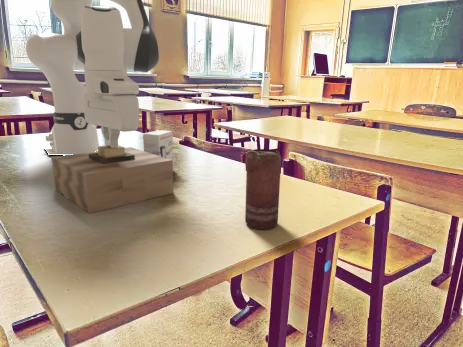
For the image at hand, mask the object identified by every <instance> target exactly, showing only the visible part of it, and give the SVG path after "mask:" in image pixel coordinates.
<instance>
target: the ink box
mask: <svg viewBox="0 0 463 347" xmlns="http://www.w3.org/2000/svg"><path fill="white" fill-rule="evenodd" d="M173 135H174V134H173V130H163V129H162V130H161V129H157V130H154V131H149V132H144V133H142V139H143V141H142V143H143V151H145V152H148V153H151V154H154V155H158V156H161V157H164V158H167V159H171V160H173V172H174V171H175V161H174V159H175V158H174V141H173V140H174V136H173Z"/></svg>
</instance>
